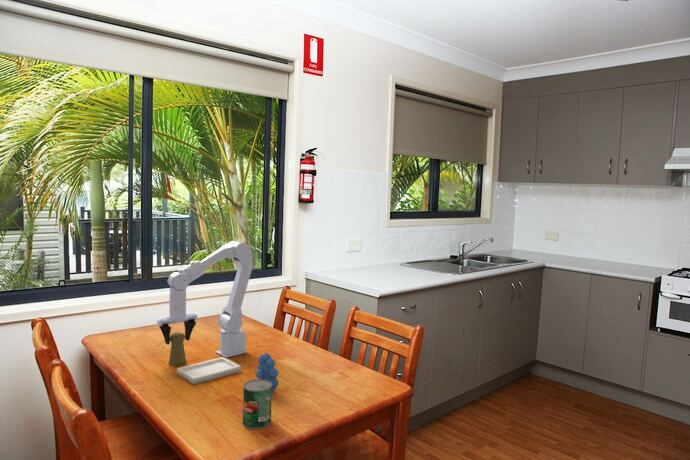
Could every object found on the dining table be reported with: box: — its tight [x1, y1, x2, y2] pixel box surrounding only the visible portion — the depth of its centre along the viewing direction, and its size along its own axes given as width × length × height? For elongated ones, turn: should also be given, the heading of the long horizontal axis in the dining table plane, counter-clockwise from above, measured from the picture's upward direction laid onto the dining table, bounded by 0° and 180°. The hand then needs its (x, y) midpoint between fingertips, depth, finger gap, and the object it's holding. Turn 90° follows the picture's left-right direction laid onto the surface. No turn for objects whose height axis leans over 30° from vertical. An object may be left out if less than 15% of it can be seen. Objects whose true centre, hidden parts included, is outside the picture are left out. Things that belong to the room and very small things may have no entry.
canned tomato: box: [242, 378, 273, 430], centre depth 137 cm, size 8×8×11 cm
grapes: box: [255, 352, 280, 394], centre depth 159 cm, size 12×7×12 cm, turn 36°
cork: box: [168, 332, 187, 366], centre depth 181 cm, size 6×6×11 cm
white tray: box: [176, 356, 242, 386], centre depth 172 cm, size 18×12×2 cm, turn 134°
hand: (177, 341), depth 180 cm, fingers open, 7 cm apart
